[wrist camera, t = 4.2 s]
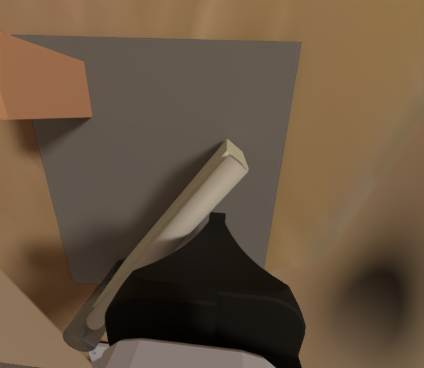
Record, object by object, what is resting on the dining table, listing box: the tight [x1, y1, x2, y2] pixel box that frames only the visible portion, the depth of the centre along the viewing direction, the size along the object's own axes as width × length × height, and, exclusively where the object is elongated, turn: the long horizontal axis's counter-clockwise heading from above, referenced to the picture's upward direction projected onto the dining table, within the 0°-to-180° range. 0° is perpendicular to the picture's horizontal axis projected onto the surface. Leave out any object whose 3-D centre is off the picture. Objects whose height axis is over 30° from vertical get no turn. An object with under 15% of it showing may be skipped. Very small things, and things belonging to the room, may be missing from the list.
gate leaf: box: [86, 139, 249, 330], centre depth 11 cm, size 12×1×5 cm, turn 141°
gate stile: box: [0, 32, 92, 120], centre depth 9 cm, size 3×2×5 cm, turn 178°
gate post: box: [63, 259, 125, 352], centre depth 14 cm, size 2×2×6 cm
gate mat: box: [11, 35, 302, 285], centre depth 14 cm, size 18×16×1 cm
